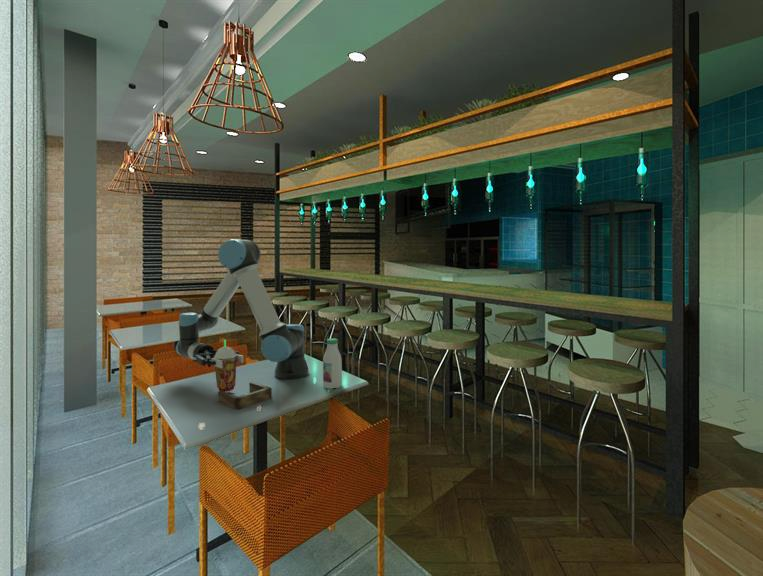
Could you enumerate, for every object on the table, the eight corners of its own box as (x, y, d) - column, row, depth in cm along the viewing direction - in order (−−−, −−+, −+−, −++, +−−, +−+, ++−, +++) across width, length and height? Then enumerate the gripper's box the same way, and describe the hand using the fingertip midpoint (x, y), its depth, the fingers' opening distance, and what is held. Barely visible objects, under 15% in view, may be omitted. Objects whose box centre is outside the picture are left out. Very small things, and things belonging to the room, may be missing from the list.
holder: (252, 391, 165) (252, 381, 165) (271, 397, 158) (271, 387, 158) (218, 402, 153) (218, 391, 153) (237, 409, 146) (236, 398, 146)
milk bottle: (339, 382, 177) (339, 336, 175) (343, 388, 169) (343, 340, 167) (321, 384, 174) (321, 337, 172) (325, 390, 167) (324, 341, 165)
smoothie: (211, 389, 163) (209, 339, 161) (231, 384, 169) (229, 336, 167) (221, 394, 157) (219, 343, 155) (241, 389, 163) (240, 339, 161)
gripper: (224, 356, 181) (255, 365, 168) (176, 366, 165) (206, 378, 151) (224, 339, 181) (255, 347, 167) (175, 348, 164) (206, 357, 150)
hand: (232, 361), depth 159 cm, fingers closed on smoothie, 8 cm apart
